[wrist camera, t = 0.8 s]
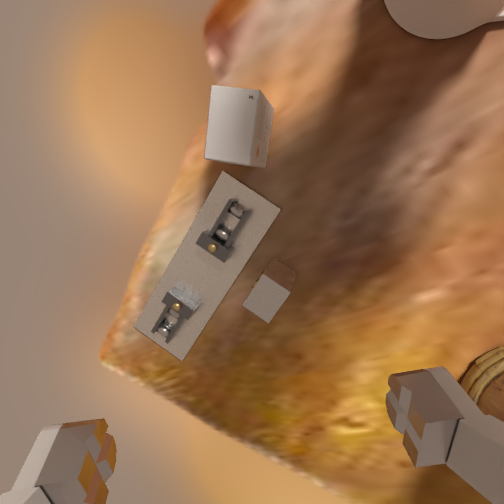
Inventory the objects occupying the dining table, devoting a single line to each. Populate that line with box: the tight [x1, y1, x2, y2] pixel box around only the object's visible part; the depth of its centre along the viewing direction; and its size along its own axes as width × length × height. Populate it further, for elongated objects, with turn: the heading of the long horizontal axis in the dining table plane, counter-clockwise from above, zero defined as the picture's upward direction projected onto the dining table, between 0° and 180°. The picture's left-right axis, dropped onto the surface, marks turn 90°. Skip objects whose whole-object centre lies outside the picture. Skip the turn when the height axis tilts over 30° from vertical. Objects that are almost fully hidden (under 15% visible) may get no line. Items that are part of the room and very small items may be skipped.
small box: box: [204, 85, 274, 168], centre depth 41 cm, size 8×6×10 cm
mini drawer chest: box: [242, 258, 297, 324], centre depth 46 cm, size 5×4×9 cm
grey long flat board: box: [134, 171, 281, 361], centre depth 50 cm, size 30×10×4 cm, turn 148°
